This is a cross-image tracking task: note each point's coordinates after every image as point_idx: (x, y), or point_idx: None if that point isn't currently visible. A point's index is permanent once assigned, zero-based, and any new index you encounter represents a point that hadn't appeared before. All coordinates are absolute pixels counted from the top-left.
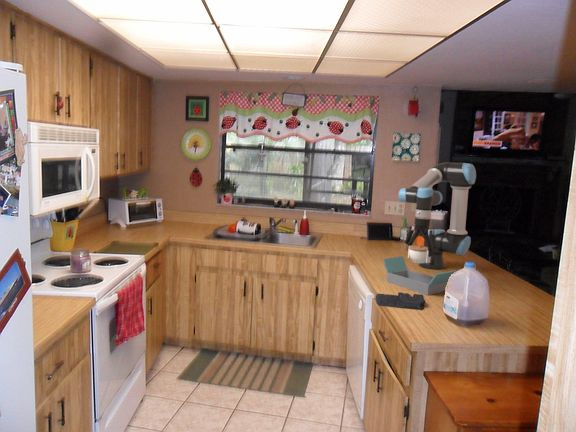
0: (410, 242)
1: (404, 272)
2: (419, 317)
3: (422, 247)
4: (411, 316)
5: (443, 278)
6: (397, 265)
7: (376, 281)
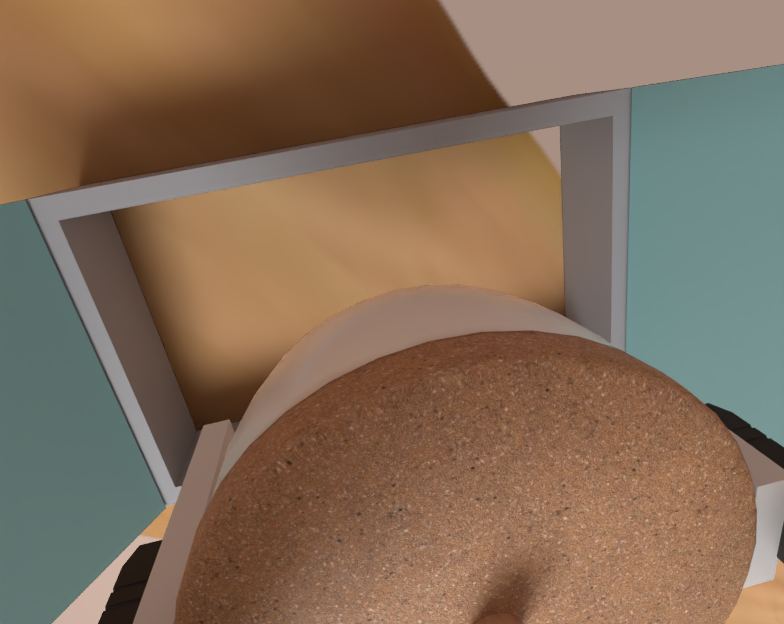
0: None
1: (91, 263)
2: (768, 595)
3: (556, 597)
4: (742, 617)
5: (711, 249)
6: (31, 388)
7: (162, 515)
